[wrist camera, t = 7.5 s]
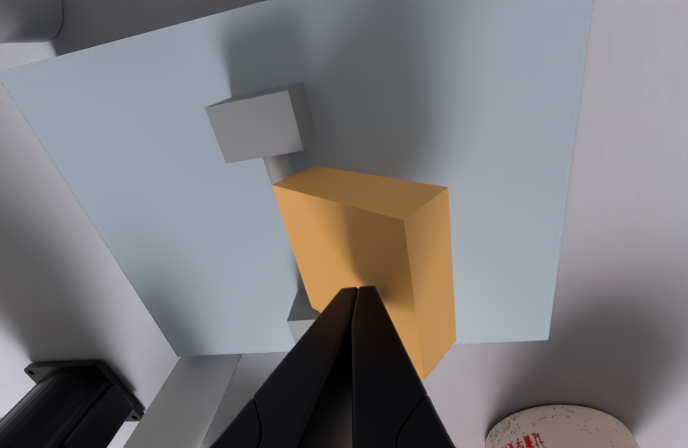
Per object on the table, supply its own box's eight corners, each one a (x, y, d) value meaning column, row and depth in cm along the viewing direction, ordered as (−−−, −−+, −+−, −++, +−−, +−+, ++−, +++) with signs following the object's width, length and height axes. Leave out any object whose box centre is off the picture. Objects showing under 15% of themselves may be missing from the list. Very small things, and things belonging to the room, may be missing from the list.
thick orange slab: (311, 306, 12) (424, 380, 9) (271, 184, 10) (403, 220, 6) (342, 282, 13) (456, 340, 9) (313, 165, 11) (448, 186, 7)
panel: (200, 321, 20) (157, 387, 16) (59, 66, 13) (-70, 79, 9) (526, 299, 16) (568, 378, 12) (556, -63, 10) (663, -125, 6)
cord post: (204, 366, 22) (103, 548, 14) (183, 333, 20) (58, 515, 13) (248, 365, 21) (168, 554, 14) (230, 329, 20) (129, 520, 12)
